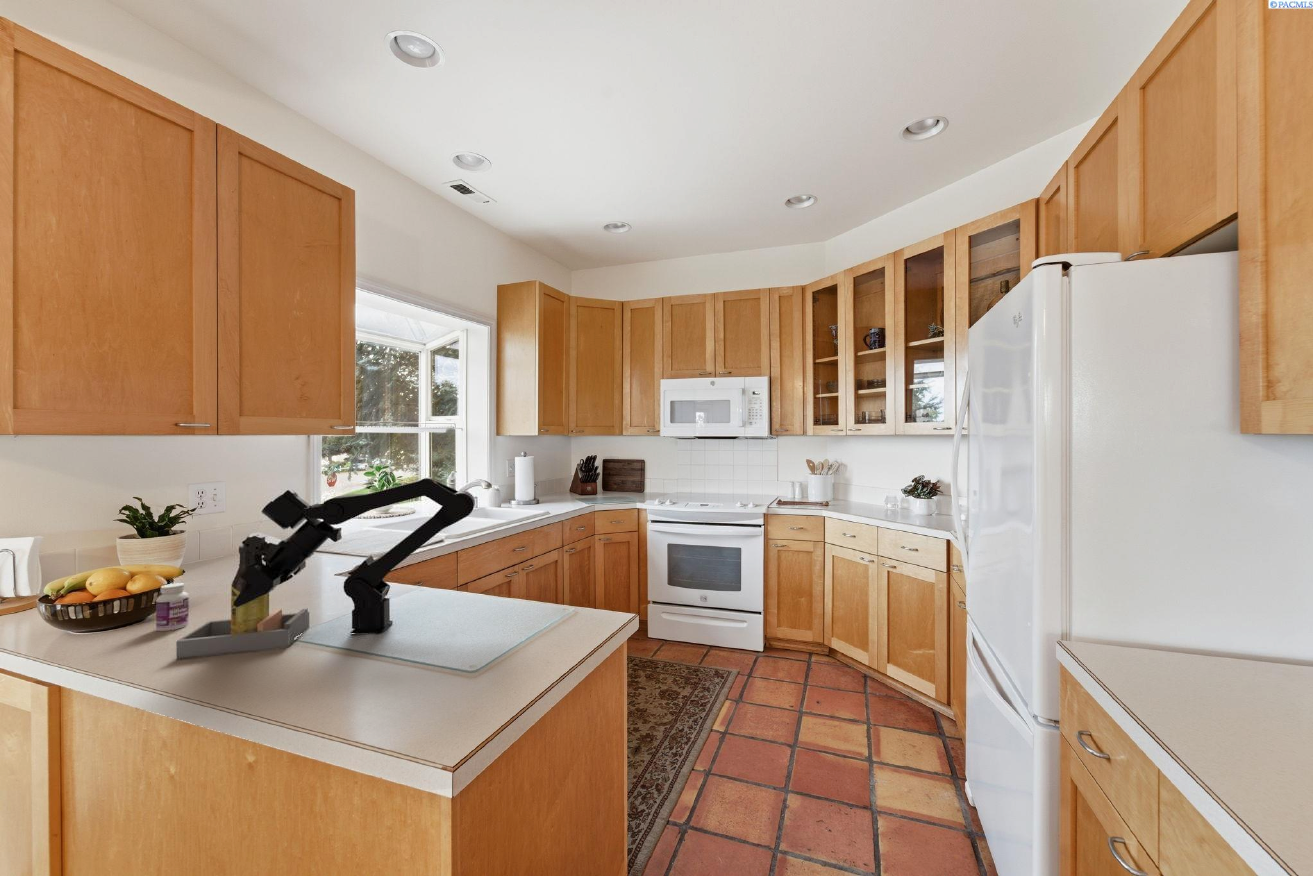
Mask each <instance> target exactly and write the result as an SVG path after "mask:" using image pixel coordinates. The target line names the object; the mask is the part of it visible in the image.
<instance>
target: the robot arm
mask: <svg viewBox="0 0 1313 876" xmlns="http://www.w3.org/2000/svg"><path fill="white" fill-rule="evenodd" d="M421 497H425V498H428V499H429V500H431V501H433V502H434V503H436V504H438V505H439V506H441V507H440V508H439V509H438V511H437V512H436V513H435V514H434V515H432V516H431V517H430V518H429V519H428V520H426V521H425V522H424V523H422V524H421V525H419V527H418V528H415V530H413V531H412V532H411V533H410V534H408V535H407V536H406V537H405V538H403V539H402V540H401V541H400V542H398V543H397V544H395V545H394V546H393V547H392V548H390V549H389V550H387V551H386V553H384V554H383V555H380V556H379V557H377V558H375V559H374V557H373V555H371V554H370V555H369V556H368V557H366V558H365V559H364V560H363V561H362V562H361V564H357V565H356V566H354V567H353V568H352V569H351V570H349V571H348V573H347V574H348V575H349V576H347V578H346V579H345V580H344V582H343V591H344V593H345V594H346V596H347V597H348V598H351V600H352V603H353V608H354V609H352V611H351V629H352V630H351V631H350V634H351V633H368V634H380V633H381V632H382V633H384V632H385V631H386V629H388V628H389V627H390V626H391V625H392V624H394V623H393V620H391V617H390V613H391V610H390V607H391V606H390V599H391V598H390V597H387V598H386V596H387V595H388V594H389V591H390V588H391V585H390V584H388V583H387V582H386V581H385V580H384V578H385V577H387V575H388V574H389V573H390V572H391V571H392V570H393V569H394V568H395V567H397V566H398V565H399V564H401V563H402V562H403V561H405V560H406V559H407V558H408V557H409V556H411V555H412V554H413V553H414V552H416V551H417V550H419V548H421V547H422V546H424V545H425V544H426V543H427V542H429V541H430V540H431V539H432V538H433V537H435V535H437V534H439V533H440V532H441V531H442V530H444V529H446V528H448V527H450V526H452V525H454V524H456V523H458V522H459V521H461V520H463V519H465V518H467V517H468V516H470V515H471V513H473V511H474V507H475V503H476V500H475V497H474V496H473V494H472V493H470V492H469V491H466V490H459V491H458V490H456V489H454V488H453V487H450V486H449V485H446V484H444V483H442V482H439V481H438V480H436V479H434V478H433V477H430V476H429V477H424V478H422V479H420V480H416V481H412V482H409V483H405V484H400V485H397V486H393V487H389V488H385V489H382V490H377V491H374V492H373V491H372V492H369V493H355V494H345V495H338V496H334V497H330V498H329V499H327V500H324V502H323V503H315V504H312V505H311V504H309V503H308V502H307V501H306V500H304V499H303V498H302V497H300V496H299V495H298V493H297V492H296V491H294V490H293V489H286V491H285V492H283V493H282V494H281V495H278V496H277V497H276V498H275V499H274V500H271V501H269V503H267V504H266V505H265V506H264V507H263V509H262V510H261V514H262V515H264V516H265V517H267V518H268V519H269V520H271V521H272V522H273V523H274V524H276V525H277V526H278V527H280V528H281V529H282V530H286V529H289V528H290V529H291V530H294V529H296V528H297V527H298V526H300V525H301V524H302V523H303V522H304V521H305V522H304V523H303V524H302V525H301V526H300V527H298V528H297V529H296V530H295V531H294V532H293V533H292V534H291V535H290V536H289V537H287V538H286V539H280V538H278V537H275V536H272V535H269V534H266V533H263V532H260V531H256V532H255V531H254V532H253V533H250V534H248V535H247V536H246V538H245V539H244V540H243V541H242V542H241V545H243V547H244V549H243V551H245V550H248V551H249V552H252V553H255V554H258V555H262V562H264V563H265V564H264V563H254V564H252V565H250V566H248V567H246V568H245V569H244V570H243V571H242V572H241V573H240V574H239V576H240V577H241V578H242V579H243V580H245V581H246V584H245V585H244V587H243V589H242V590H241V592H240V594H239V595H238V597H237V598H236V600H235V601H234V603H233V605H234V606H236V607H239V606H241V605H243V604H246V603H248V602H250V601H252V600H254V599H256V598H258V597H260V596H263V595H265V594H267V593H269V594H270V593H271V592H273V591H274V590H275V588H277V586H279V585H281V584H283V583H285V582H288V581H289V580H291V579H293V577H294V576H297V575H299V574H300V573H301V572H302V571H303V570H304V569H305V568H306V567H307V566H306V565H307V564H306V563H307V562H306V560H308V559H309V558H311V557H312V556H313V555H314V554H315V552H316V551H317V550H318V549H319V548H320V547H322V545H323V544H324V543H326V541H327V540H328V539H330V540H331V541H332V542H333V543H337V542H338V541H340V540H341V539H342V536H343V535H342V527H334V526H337V525H341V524H342V523H345V522H347V521H349V520H352V519H354V518H356V517H358V516H360V515H363V514H365V513H368V512H370V511H373V510H376V509H379V508H383V507H386V506H390V505H394V504H395V505H396V504H400V503H402V502H406V501H410V500H413V499H418V498H421ZM321 520H322V521H321Z"/></svg>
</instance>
